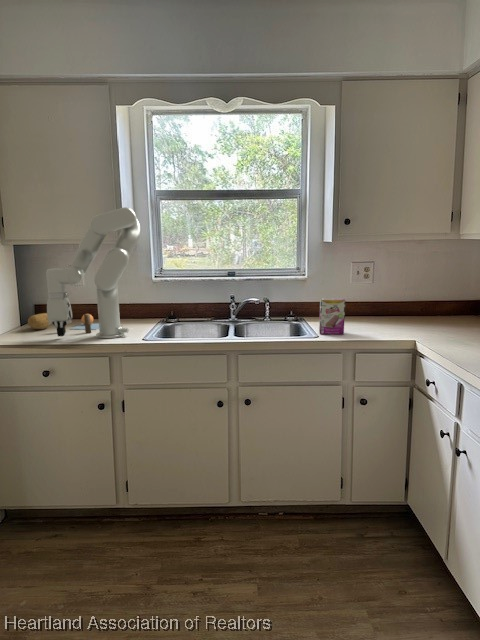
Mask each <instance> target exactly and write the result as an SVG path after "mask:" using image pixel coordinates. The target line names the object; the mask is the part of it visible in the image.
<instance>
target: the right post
mask: <svg viewBox="0 0 480 640" xmlns="http://www.w3.org/2000/svg"><path fill="white" fill-rule="evenodd" d="M83 315H84V320H85V330H84V331H85V334H91V333H92V330H91V324H90V315H91V314H90V313H85V314H83Z"/></svg>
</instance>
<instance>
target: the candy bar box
mask: <svg viewBox="0 0 480 640" xmlns="http://www.w3.org/2000/svg"><path fill="white" fill-rule="evenodd" d="M345 312H346V299H345V298H328V297H327V298H320V299H319V327H318V332H319V335H335V336H336V335H338V336H339V335H340V336H343V335H344V334H345V315H346V313H345Z"/></svg>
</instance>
